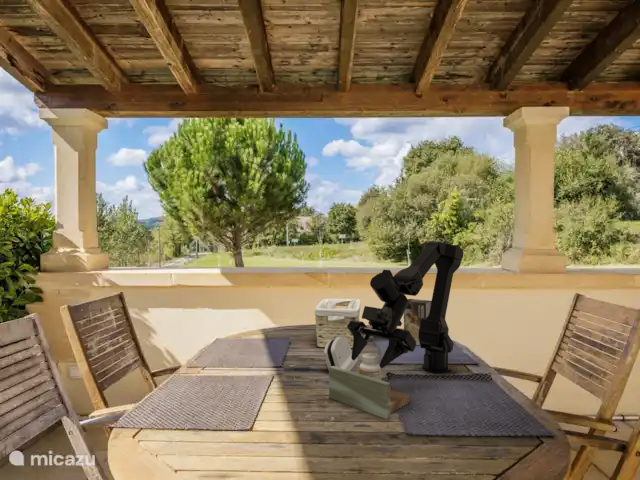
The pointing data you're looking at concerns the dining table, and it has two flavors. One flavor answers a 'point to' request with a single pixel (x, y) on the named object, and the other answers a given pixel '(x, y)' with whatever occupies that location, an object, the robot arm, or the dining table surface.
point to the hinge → (339, 354)
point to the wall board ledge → (365, 392)
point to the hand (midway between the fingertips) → (366, 363)
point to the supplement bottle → (370, 366)
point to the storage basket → (335, 319)
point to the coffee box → (416, 316)
